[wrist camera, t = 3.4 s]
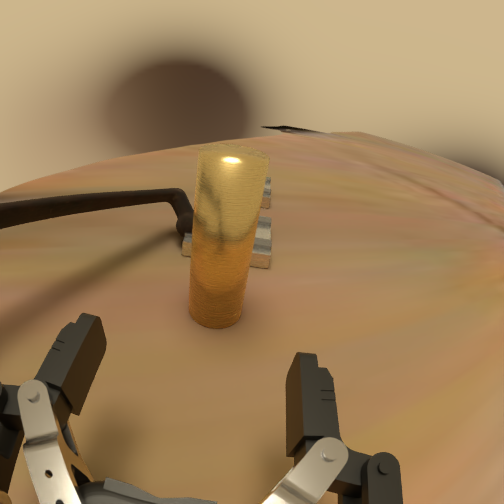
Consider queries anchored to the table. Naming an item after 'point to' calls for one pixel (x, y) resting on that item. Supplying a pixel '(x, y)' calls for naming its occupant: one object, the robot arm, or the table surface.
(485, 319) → the table surface
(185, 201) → the wrench
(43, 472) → the robot arm
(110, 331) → the table surface
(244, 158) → the link pin
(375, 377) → the table surface
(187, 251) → the metal plates
